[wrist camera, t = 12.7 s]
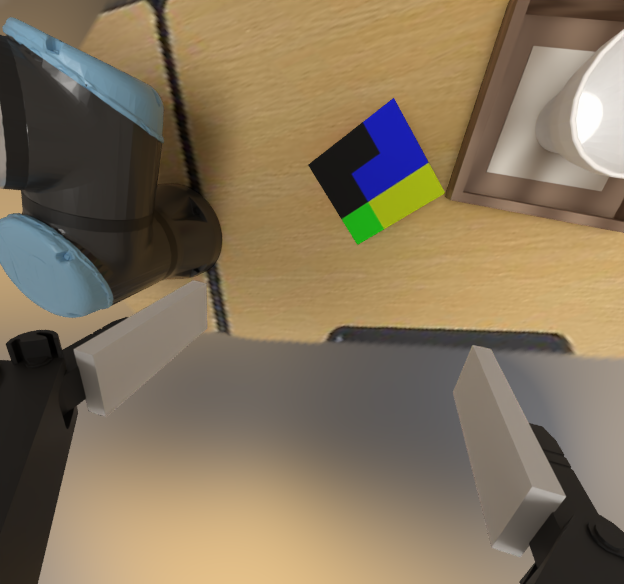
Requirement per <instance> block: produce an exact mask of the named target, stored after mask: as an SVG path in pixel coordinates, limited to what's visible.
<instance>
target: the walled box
mask: <svg viewBox="0 0 624 584" xmlns="http://www.w3.org/2000/svg"><path fill="white" fill-rule="evenodd" d="M622 30H624V0H510V1H509V3H508V6H507V9H506V12H505V15H504V18H503V21H502V24H501V27H500V30H499V33H498V36H497V39H496V42H495V45H494V48H493V51H492V54H491V57H490V60H489V63H488V66H487V70H486V73H485V76H484V79H483V82H482V85H481V88H480V91H479V94H478V97H477V100H476V103H475V106H474V109H473V112H472V115H471V118H470V121H469V124H468V127H467V130H466V133H465V136H464V140H463V143H462V146H461V149H460V152H459V155H458V158H457V161H456V164H455V167H454V170H453V173H452V176H451V179H450V182H449V185H448V188H447V191H446V194H445V197H447V198H448V199H450V200H453V201H458V202H464V203H469V204H474V205H479V206H485V207H490V208H495V209H501V210H506V211H511V212H517V213H522V214H527V215H532V216H538V217H543V218H548V219H554V220H559V221H564V222H570V223H575V224H580V225H585V226H591V227H596V228H601V229H607V230H612V231H617V232H623V233H624V179H622V178H615V177H609V176H604V175H599V174H594V173H592V172H590V171H588V170H585V169H583V168H581V167H579V166H577V165H575V164H573V163H571V162H569V161H567V160H566V159H565V158H563V157H562V156H561V155H560V154H559V153H553V152H550V151H548V150H545V149H544V148H543V147H542V146H541V145H540V144H539V142H538V140H537V138H536V133H535V128H536V122H537V119H538V117H539V114H540V113H541V111H542V110H543V108H544V107H545V105H546V104H548V103H549V102H550V101H551V100H552V99H553V98H554V97H556V96H557V95H558V94H559V93H560V92H561V91H562V89H563V88H564V86H565V85H566V83H567V82H568V80H569V79H570V78H571V77H572V76H573V75H574V74H575V73H576V72H577V70H578V69H579V68H580V67H581V66H582V65H583V64H584V63H585V62H586V61H587V60H588V59H589V58H590V57H591V56H592V55H593V54H594V53H595V52H596V51H597V50H598V49H599V48H600V47H601V46H602V45H604V44H605V43H606V42H608V41H609V40H610V39H612V38H613V37H614V36H615V35H617V34H618V33H619V32H621V31H622Z"/></svg>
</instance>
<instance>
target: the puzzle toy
mask: <svg viewBox="0 0 624 584" xmlns="http://www.w3.org/2000/svg"><path fill="white" fill-rule="evenodd" d="M308 166H309V167H310V169H311V170H312V172H313V174H314V175H315V177H316V179H317V180H318V182H319V183H320V185H321V187H322V188H323V190H324V191H325V193H326V195H327V196H328V198H329V200H330V201H331V203H332V204H333V206H334V208H335V209H336V211H337V213H338V214H339V216H340V217H341V219H342V221H343V222H344V224H345V225H346V227H347V229H348V230H349V232H350V234H351V235H352V237H353V238H354V240H355V242H356V243H357V245H358V244H360V243H362V242H363V241H365V240H367V239H368V238H370V237H372V236H373V235H375V234H377V233H378V232H380V231H382V230H384V229H385V228H387V227H389V226H390V225H392V224H394V223H395V222H397V221H399V220H400V219H402V218H404V217H406V216H407V215H409V214H411V213H412V212H414V211H416V210H417V209H419V208H421V207H422V206H424V205H426V204H427V203H429V202H431V201H433V200H434V199H436V198H438V197H439V196H441V195H443V194H444V193H445V192H444V190H443V188H442V186H441V184H440V183H439V181H438V179H437V177H436V175H435V173H434V171H433V170H432V168H431V166H430V164H429V162H428V160H427V158H426V157H425V155H424V153H423V151H422V149H421V147H420V145H419V144H418V142H417V140H416V138H415V136H414V134H413V132H412V131H411V129H410V127H409V125H408V123H407V121H406V119H405V118H404V116H403V114H402V112H401V110H400V108H399V107H398V105H397V103H396V101H395V99H394V98H393V99H392V100H390V101H389V102H388V103H387V104H385V105H384V106H383V107H381V108H380V109H379V110H378V111H376V112H375V113H374V114H373V115H371V116H370V117H369V118H367V119H366V120H365V121H364V122H362V123H361V124H360V125H358V126H357V127H356V128H355V129H353V130H352V131H351V132H350V133H348V134H347V135H346V136H344V137H343V138H342V139H341V140H339V141H338V142H337V143H335V144H334V145H333V146H332V147H330V148H329V149H328V150H327V151H325V152H324V153H323V154H321V155H320V156H319V157H318V158H316V159H315V160H314V161H312V162H311V163H310V164H309V165H308Z"/></svg>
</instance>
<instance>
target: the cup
mask: <svg viewBox="0 0 624 584" xmlns="http://www.w3.org/2000/svg"><path fill="white" fill-rule="evenodd" d="M535 133H536V138H537V140H538V142H539V144H540V145H541V146H542V147H543V148H544V149H545V150H548V151H550V152H553V153H559V154H560V155H561V156H562V157H563V158H565V159H566V160H567V161H569V162H571V163H573V164H575V165H577V166H579V167H581V168H583V169H585V170H588V171H590V172H592V173H594V174H599V175H604V176H609V177H615V178H622V179H624V30H622V31H621V32H619V33H618V34H617V35H615V36H614V37H613V38H612V39H610V40H609V41H608V42H606V43H605V44H604V45H602V46H601V47H600V48H599V49H598V50H597V51H596V52H595V53H594V54H593V55H592V56H591V57H590V58H589V59H588V60H587V61H586V62H585V63H584V64H583V65H582V66H581V67H580V68H579V69H578V70H577V72H576V73H575V74H574V75H573V76H572V77H571V78H570V79H569V80H568V82H567V83H566V85H565V86H564V88H563V89H562V91H561V92H560V93H559V94H558V95H557V96H556V97H554V98H553V99H552V100H551V101H550V102H549V103H548V104H546V105H545V107H544V108H543V110H542V111H541V113H540V114H539V117H538V119H537V122H536V128H535Z"/></svg>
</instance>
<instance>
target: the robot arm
mask: <svg viewBox="0 0 624 584" xmlns="http://www.w3.org/2000/svg"><path fill="white" fill-rule="evenodd" d="M3 32H4V33H5V34H6V35H7V36H2V35H0V188H1V189H13V190H21V194H22V207H23V213H22V214H20V213H14V214H9V215H8V216H7V217H5V218H2V219H0V264H1V266H2V267H3V269H4V271H5V272H6V274H7V275H8V277H9V278H10V279H11V281H12V282H13V283H14V284H15V285H16V286H17V287H18V289H19V290H20V291H22V293H23V294H24V295H25V296H27V297H28V298H29V299H30V300H31V301H33V302H34V303H35V304H37V305H38V306H40V307H42V308H43V309H45V310H47V311H49V312H51V313H53V314H56V315H59V316H63V317H71V318H75V317H82V316H85V315H88V314H90V313H93V312H95V311H98V310H100V309H106V308H109V307H110V306H112V305H114V304H116V303H118V302H120V301H122V300H124V299H126V298H128V297H130V296H132V295H134V294H136V293H138V292H140V291H142V290H144V289H146V288H148V287H150V286H152V285H154V284H156V283H158V282H159V281H161V280H164V279H183V278H191V277H195V276H197V275H199V274H201V273H203V272H205V271H207V270H208V269H210V268H211V267H212V266H213V265H214V263H215V262H216V260H217V259H218V257H219V254H220V251H221V245H222V235H221V229H220V225H219V222H218V219H217V217H216V215H215V213H214V211H213V209H212V208H211V206H210V205H209V204H208V202H207V201H206V200H205V199H204V198H203V197H202V196H201V195H200V194H198V193H197V192H196V191H194V190H193V189H191V188H189V187H186V186H184V185H180V184H162V185H157V181H158V173H159V165H160V156H161V148H162V143H164V138H163V136H162V132H163V115H164V106H163V102H162V100H161V97H160V96H159V94H158V93H157V92H156V91H155V89H153V88H152V87H151V86H149V85H148V84H146V83H144V82H142V81H140V80H138V79H136V78H134V77H132V76H130V75H128V74H126V73H125V72H123V71H121V70H119V69H117V68H115V67H113V66H111V65H109V64H107V63H105V62H103V61H101V60H99V59H96V58H94V57H92V56H90V55H88V54H86V53H84V52H82V51H80V50H78V49H76V48H74V47H72V46H70V45H68V44H66V43H64V42H62V41H60V40H58V39H56V38H54V37H52V36H50V35H48V34H46V33H44V32H42V31H40V30H38V29H36V28H34V27H32V26H30V25H28V24H26V23H24V22H22V21H20V20H18V19H16V18H8V19H7V21H6V24H5V25H4V26H3ZM206 329H207V291H206V283H203V282H199V281H194V280H193V281H191V282H189V283H188V284H186V285H184V286H182V287H181V288H179V289H177V290H175V291H174V292H172V293H170V294H169V295H167V296H165V297H163V298H162V299H160V300H158V301H156V302H155V303H153V304H151V305H149V306H148V307H146V308H144V309H143V310H141V311H139V312H137V313H136V314H134V315H132V316H130V317H125V318H122V319H119V320H116V321H113V322H111V323H110V324H108V325H106V326H104V327H103V328H102V329H99V330H97V331H95V332H94V333H93V334H90V335H88V336H86V337H85V338H83V339H81V340H79V341H77V342H76V343H74V344H72V345H70V346H69V347H67V348H65V349H63V350H62V348H61V344H60V340H59V336H58V334H57V333H56V332H54V331H50V330H36V331H31V332H27V333H23V334H20V335H18V336H16V337H14V338H12V339H10V340H9V341H8V342H7V343H6V346H7V349H8V352H9V355H10V358H11V361H8V360H7V361H6V360H0V584H38V580H39V576H40V572H41V567H42V563H43V559H44V555H45V551H46V547H47V542H48V538H49V534H50V530H51V525H52V521H53V517H54V513H55V508H56V504H57V500H58V496H59V491H60V487H61V483H62V479H63V475H64V470H65V466H66V461H67V458H68V453H69V449H70V445H71V441H72V436H73V432H74V428H75V424H76V420H77V415H78V409H77V405H78V404H80V402H82V401H83V400H85V399H86V403H87V407H88V411H89V412H92V413H95V414H98V415H101V416H104V417H107V416H108V415H109V414H110V413H111V412H113V411H114V410H115V409H116V408H117V407H118V406H119V405H121V404H122V403H123V402H124V401H125V400H126V399H127V398H129V397H130V396H131V395H132V394H133V393H134V392H135V391H137V390H138V389H139V388H140V387H141V386H142V385H143V384H144V383H146V382H147V381H148V380H149V379H150V378H151V377H152V376H154V375H155V374H156V373H157V372H158V371H159V370H160V369H162V368H163V367H164V366H165V365H166V364H167V363H168V362H170V361H171V360H172V359H173V358H174V357H175V356H177V354H179V353H180V352H181V351H182V350H183V349H184V348H185V347H187V346H188V345H189V344H190V343H191V342H192V341H194V340H195V339H196V338H197V337H198V336H199V335H200V334H202V333H203V332H204V331H205V330H206ZM453 395H454V399H455V403H456V407H457V411H458V415H459V419H460V422H461V427H462V431H463V435H464V439H465V443H466V447H467V451H468V455H469V459H470V463H471V467H472V471H473V475H474V479H475V483H476V487H477V491H478V495H479V499H480V503H481V507H482V511H483V515H484V519H485V523H486V527H487V531H488V535H489V539H490V544H491V547H492V548H495V549H497V550H500V551H503V552H506V553H509V554H512V555H515V556H518V557H521V556H522V554H523V553H524V552H525V550H526V549H527V548H528V546H529V545H530V548H531V551H532V554H533V557H534V560H535V563H534V564H533V566H532V567H531V568H530V569H529V571H528V572H527V573H526V574H525V576H524V577H523V578H522V579H521V580H520V584H624V532H623V531H622V530H620V529H619V528H618V527H617V526H616V525H615V524H614V523H612V522H610V521H608V520H607V519H606V518H604V517H602V516H601V515H599V514H598V513H597V511H596V509H595V507H594V506H593V504H592V502H591V500H590V499H589V497H588V495H587V494H586V492H585V490H584V488H583V487H582V485H581V483H580V481H579V480H578V478H577V476H576V474H575V473H574V471H573V470H572V469H571V466H570V464H569V462H568V461H567V459H566V458H565V457H564V454H563V452H562V450H561V448H560V447H559V445H558V443H557V441H556V440H555V439H554V438H553V437H552V436H551V435H550V434H549V433H548V432H547V431H546V430H545V429H544V428H543V427H542V426H538V425H534V424H530V423H528V421H527V419H526V417H525V415H524V413H523V411H522V409H521V407H520V406H519V403H518V401H517V399H516V397H515V396H514V393H513V392H512V390H511V388H510V386H509V384H508V382H507V380H506V378H505V376H504V374H503V372H502V370H501V368H500V366H499V364H498V362H497V360H496V358H495V356H494V354H493V352H492V350H491V349H488V348H483V347H479V346H475V345H472V348H471V350H470V352H469V355H468V357H467V360H466V362H465V365H464V367H463V369H462V372H461V374H460V377H459V379H458V381H457V384H456V386H455V389H454V391H453Z"/></svg>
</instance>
